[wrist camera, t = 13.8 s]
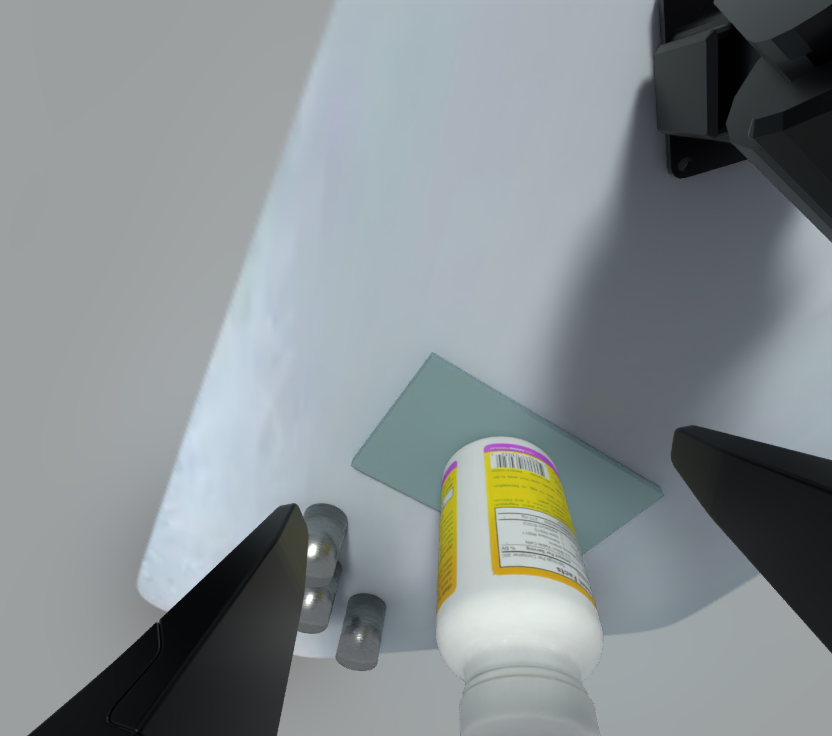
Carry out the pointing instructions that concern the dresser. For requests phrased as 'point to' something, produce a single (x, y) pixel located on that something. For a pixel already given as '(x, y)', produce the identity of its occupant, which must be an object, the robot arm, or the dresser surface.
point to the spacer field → (321, 587)
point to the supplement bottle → (514, 595)
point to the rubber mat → (489, 417)
